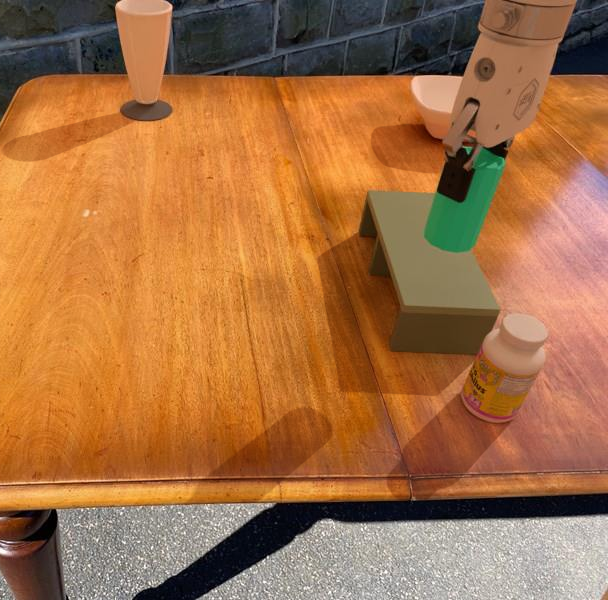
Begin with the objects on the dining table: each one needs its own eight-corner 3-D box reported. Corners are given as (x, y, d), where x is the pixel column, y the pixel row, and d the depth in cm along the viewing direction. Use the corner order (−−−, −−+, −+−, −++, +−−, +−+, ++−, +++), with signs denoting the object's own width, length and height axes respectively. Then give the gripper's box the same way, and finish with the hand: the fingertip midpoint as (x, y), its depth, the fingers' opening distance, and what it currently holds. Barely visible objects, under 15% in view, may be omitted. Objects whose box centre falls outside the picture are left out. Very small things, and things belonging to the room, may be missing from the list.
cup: (177, 119, 136) (178, 13, 122) (124, 122, 134) (118, 14, 120) (167, 97, 145) (167, -4, 131) (117, 100, 142) (111, -3, 128)
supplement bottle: (455, 380, 80) (488, 303, 72) (509, 387, 80) (548, 310, 71) (464, 421, 75) (500, 343, 67) (522, 429, 74) (565, 351, 66)
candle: (482, 253, 73) (519, 158, 65) (430, 251, 72) (461, 156, 65) (466, 224, 77) (499, 132, 69) (417, 222, 77) (444, 130, 69)
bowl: (488, 116, 143) (501, 79, 137) (513, 159, 127) (528, 119, 122) (396, 109, 144) (404, 72, 138) (409, 151, 128) (419, 111, 123)
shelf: (481, 355, 84) (501, 309, 79) (390, 351, 84) (404, 305, 79) (430, 235, 105) (443, 193, 100) (358, 232, 105) (367, 189, 100)
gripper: (516, 46, 52) (454, 229, 64) (604, 11, 61) (536, 177, 73) (437, 22, 56) (392, 198, 68) (531, -7, 65) (477, 152, 77)
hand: (467, 186), depth 70 cm, fingers closed on candle, 5 cm apart
